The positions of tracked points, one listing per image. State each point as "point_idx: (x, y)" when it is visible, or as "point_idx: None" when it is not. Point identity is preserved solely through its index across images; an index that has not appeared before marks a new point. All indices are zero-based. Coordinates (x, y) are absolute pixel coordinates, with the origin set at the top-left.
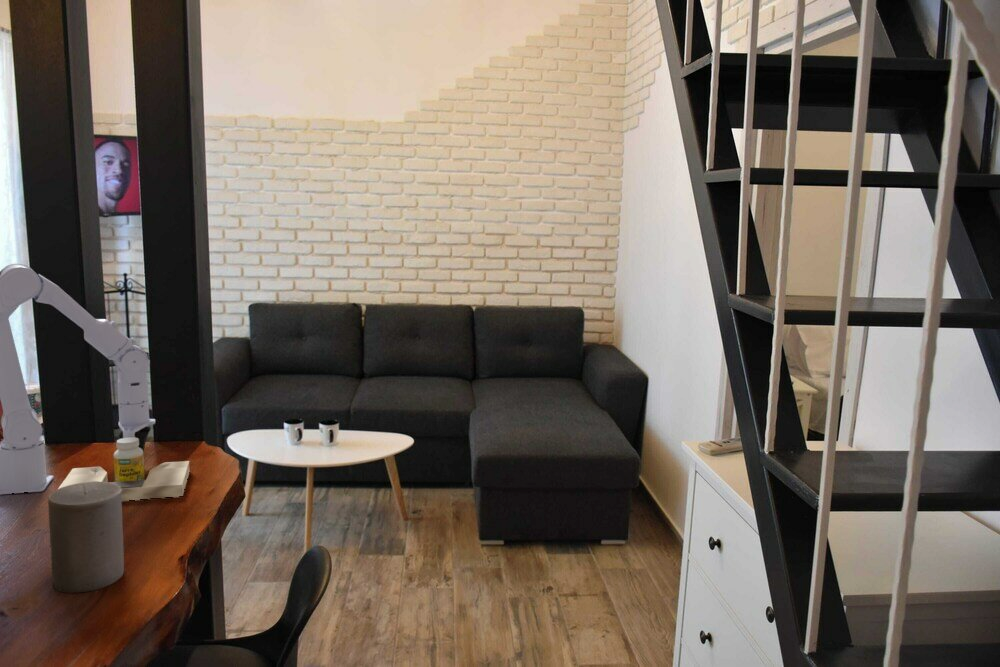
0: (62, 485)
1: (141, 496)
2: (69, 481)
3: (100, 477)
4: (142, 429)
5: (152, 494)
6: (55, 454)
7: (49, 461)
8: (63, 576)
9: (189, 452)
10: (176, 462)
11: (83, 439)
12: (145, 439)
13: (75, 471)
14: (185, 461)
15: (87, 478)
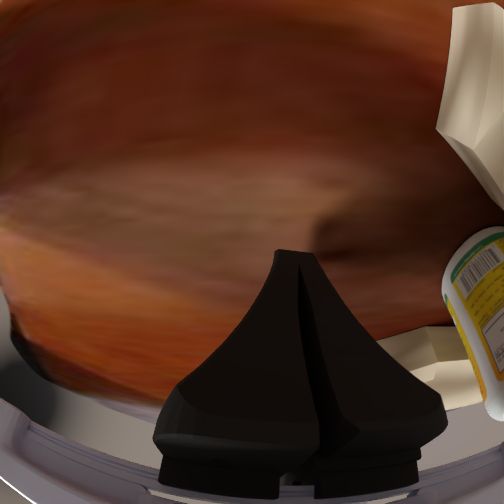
0: (448, 407)
1: None
2: None
3: (465, 366)
4: (282, 467)
5: None
6: (110, 395)
7: (156, 407)
8: None
9: (74, 9)
10: (501, 78)
11: (17, 347)
12: (373, 369)
13: None
14: (499, 25)
15: (445, 387)
